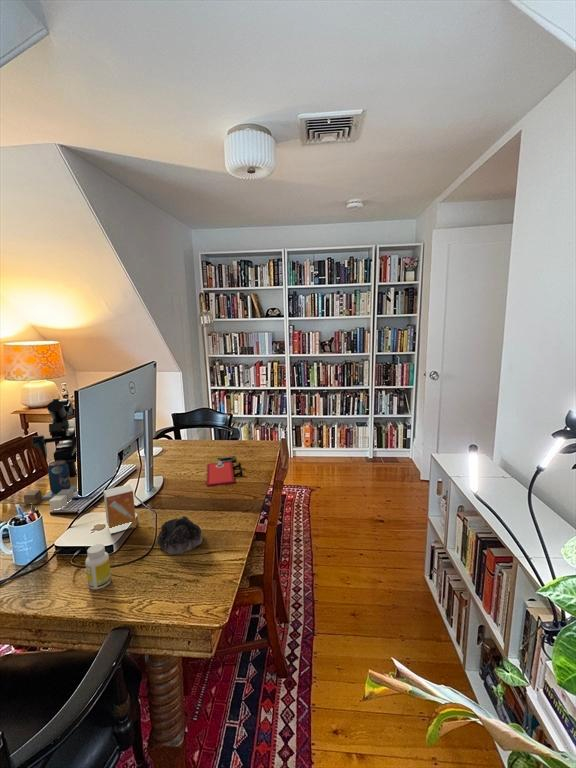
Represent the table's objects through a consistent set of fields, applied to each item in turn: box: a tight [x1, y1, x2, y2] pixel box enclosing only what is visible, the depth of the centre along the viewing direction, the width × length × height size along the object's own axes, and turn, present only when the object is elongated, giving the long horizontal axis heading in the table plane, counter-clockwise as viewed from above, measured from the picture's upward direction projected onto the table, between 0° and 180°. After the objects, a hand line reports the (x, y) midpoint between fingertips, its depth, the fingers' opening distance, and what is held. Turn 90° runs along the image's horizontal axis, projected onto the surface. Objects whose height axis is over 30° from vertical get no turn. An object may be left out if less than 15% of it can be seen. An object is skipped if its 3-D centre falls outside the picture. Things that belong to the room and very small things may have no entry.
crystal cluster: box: [157, 515, 204, 555], centre depth 112 cm, size 13×14×10 cm
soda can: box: [47, 460, 72, 494], centre depth 147 cm, size 7×7×12 cm
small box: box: [103, 484, 137, 529], centre depth 121 cm, size 8×6×13 cm
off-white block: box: [48, 495, 67, 511], centre depth 136 cm, size 4×4×4 cm
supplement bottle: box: [84, 543, 112, 590], centre depth 95 cm, size 5×5×10 cm
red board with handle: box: [206, 456, 244, 487], centre depth 167 cm, size 30×3×15 cm
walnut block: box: [23, 489, 43, 505], centre depth 141 cm, size 4×4×4 cm
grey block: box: [57, 489, 75, 502], centre depth 141 cm, size 4×4×4 cm
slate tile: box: [42, 485, 78, 501], centre depth 148 cm, size 9×9×1 cm
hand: (58, 457), depth 150 cm, fingers open, 9 cm apart
